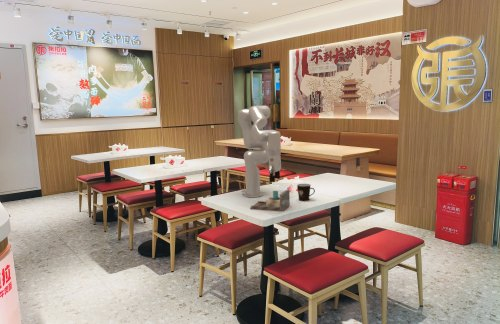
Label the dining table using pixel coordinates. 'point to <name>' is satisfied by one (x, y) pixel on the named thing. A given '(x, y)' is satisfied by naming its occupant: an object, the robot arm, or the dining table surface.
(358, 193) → the dining table surface
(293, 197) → the dining table surface
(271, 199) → the slider block
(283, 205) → the rail board
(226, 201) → the dining table surface
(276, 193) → the dowel
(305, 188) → the coffee mug
